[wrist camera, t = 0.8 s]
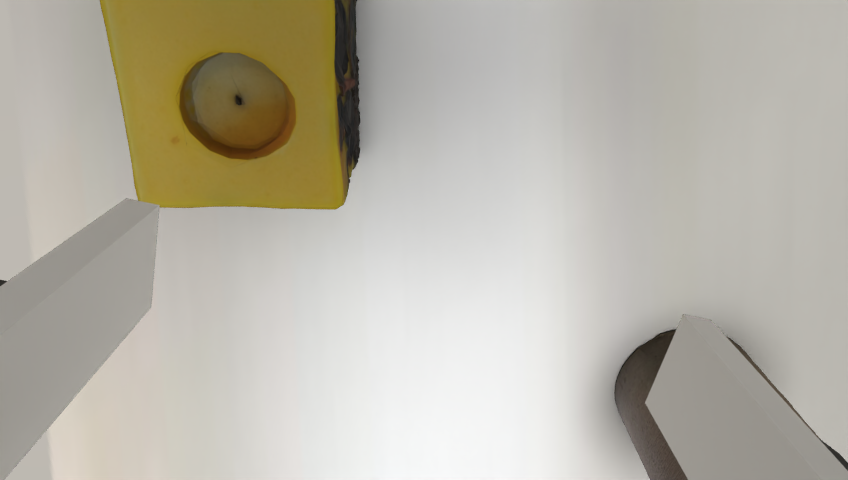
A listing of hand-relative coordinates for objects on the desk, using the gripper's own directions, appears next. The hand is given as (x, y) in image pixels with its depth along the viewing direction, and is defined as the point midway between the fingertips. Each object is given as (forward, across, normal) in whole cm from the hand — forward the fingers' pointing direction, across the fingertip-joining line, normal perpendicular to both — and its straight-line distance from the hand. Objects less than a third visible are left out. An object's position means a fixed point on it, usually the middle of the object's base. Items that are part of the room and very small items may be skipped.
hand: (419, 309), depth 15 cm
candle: (+24, -9, +1) cm, 26 cm away
